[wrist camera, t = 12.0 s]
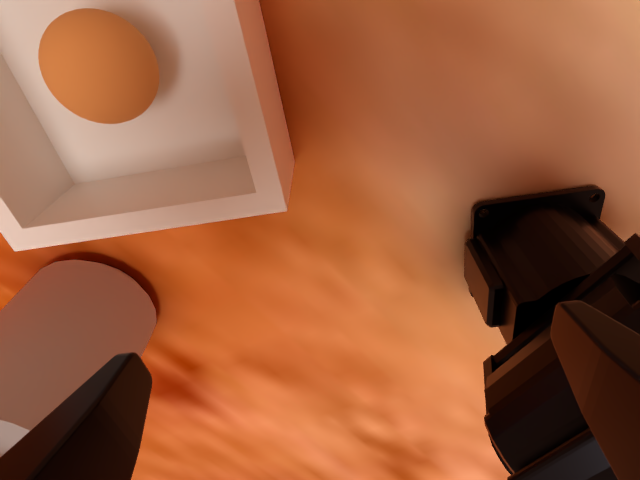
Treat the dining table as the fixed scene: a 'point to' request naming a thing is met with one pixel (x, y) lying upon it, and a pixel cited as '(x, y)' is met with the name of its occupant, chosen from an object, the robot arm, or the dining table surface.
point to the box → (143, 128)
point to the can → (65, 337)
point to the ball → (98, 66)
